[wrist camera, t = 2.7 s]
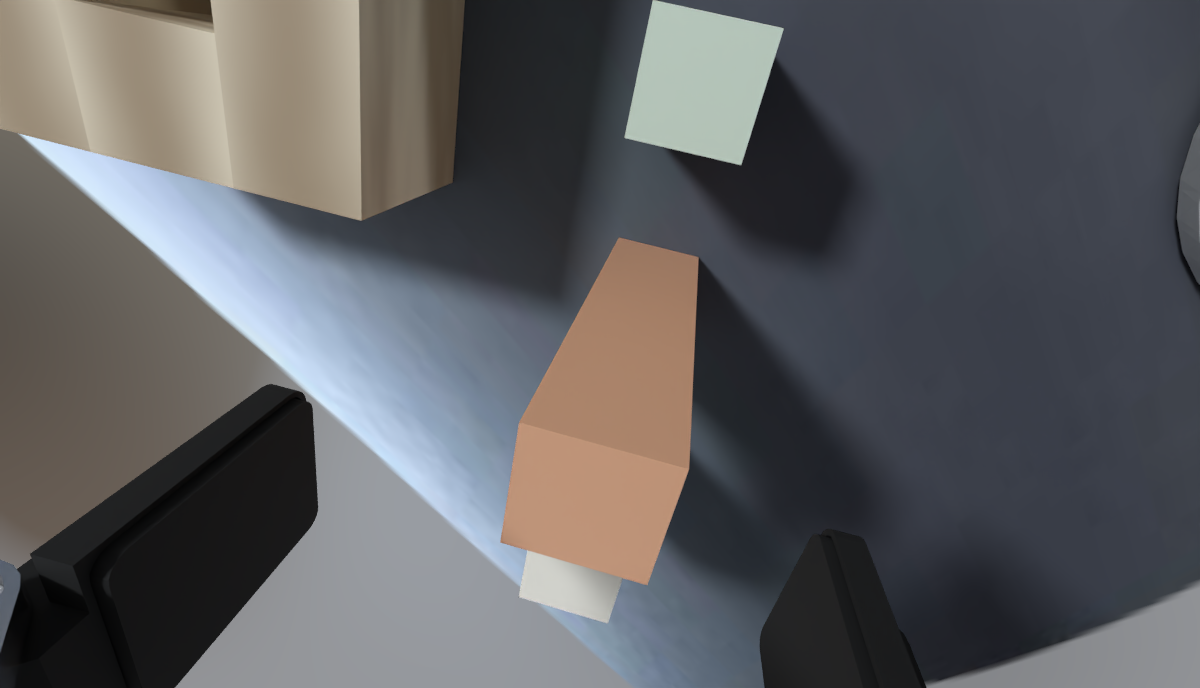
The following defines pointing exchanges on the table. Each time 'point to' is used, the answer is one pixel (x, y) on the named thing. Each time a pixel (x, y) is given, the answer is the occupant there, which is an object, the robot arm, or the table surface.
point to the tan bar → (611, 420)
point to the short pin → (701, 81)
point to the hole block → (246, 91)
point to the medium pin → (569, 586)
